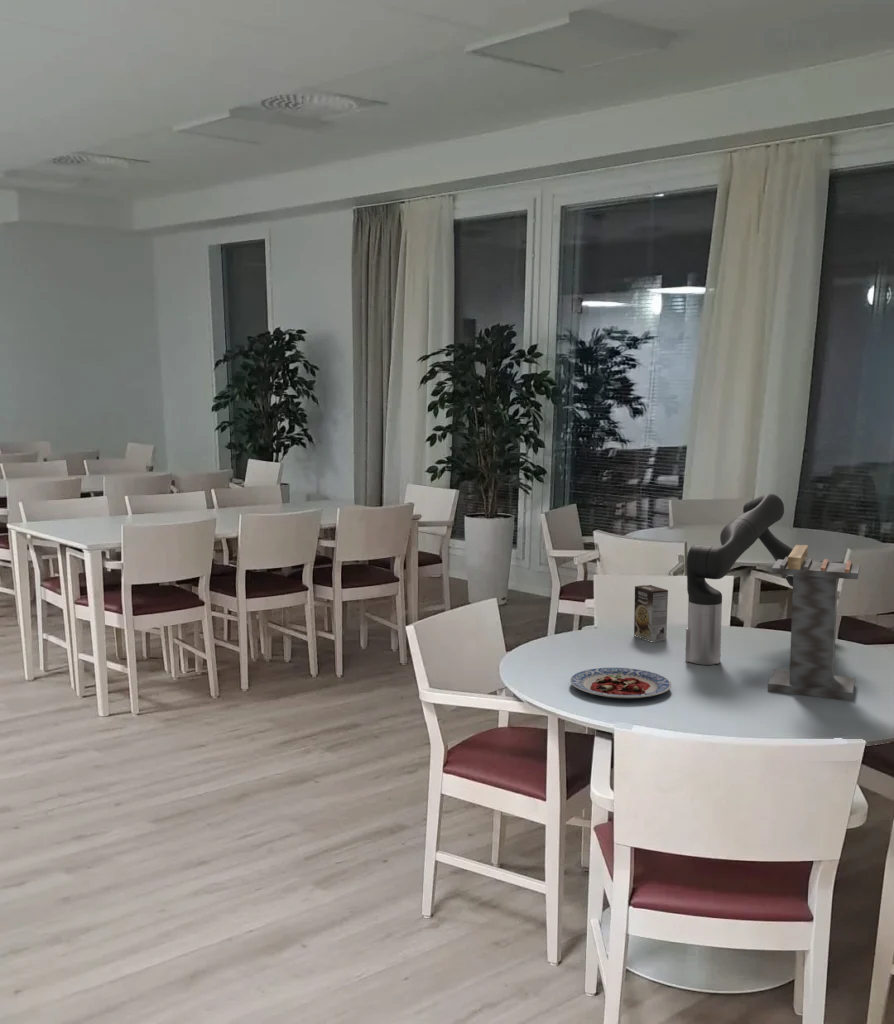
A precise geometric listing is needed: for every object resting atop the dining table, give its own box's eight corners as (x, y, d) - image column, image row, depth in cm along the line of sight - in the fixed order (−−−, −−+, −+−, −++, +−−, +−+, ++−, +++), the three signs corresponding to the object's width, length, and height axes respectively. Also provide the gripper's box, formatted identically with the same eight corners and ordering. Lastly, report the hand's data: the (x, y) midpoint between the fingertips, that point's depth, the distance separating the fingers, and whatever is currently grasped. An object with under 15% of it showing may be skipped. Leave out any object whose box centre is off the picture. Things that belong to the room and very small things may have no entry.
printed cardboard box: (632, 636, 301) (633, 586, 299) (649, 633, 304) (650, 584, 302) (650, 642, 293) (651, 591, 291) (667, 640, 296) (668, 589, 294)
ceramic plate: (672, 708, 232) (673, 696, 231) (566, 702, 237) (566, 690, 237) (669, 677, 257) (670, 667, 256) (573, 673, 262) (573, 662, 262)
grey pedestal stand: (767, 690, 244) (771, 564, 240) (773, 676, 256) (778, 556, 253) (852, 700, 235) (858, 570, 232) (854, 685, 248) (860, 561, 244)
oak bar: (787, 568, 238) (787, 557, 238) (795, 555, 258) (796, 544, 258) (800, 569, 237) (800, 557, 237) (807, 556, 257) (807, 545, 257)
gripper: (783, 569, 288) (779, 549, 274) (834, 572, 282) (832, 552, 268) (781, 592, 285) (777, 573, 272) (832, 596, 279) (831, 577, 266)
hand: (805, 563), depth 270 cm, fingers open, 8 cm apart
